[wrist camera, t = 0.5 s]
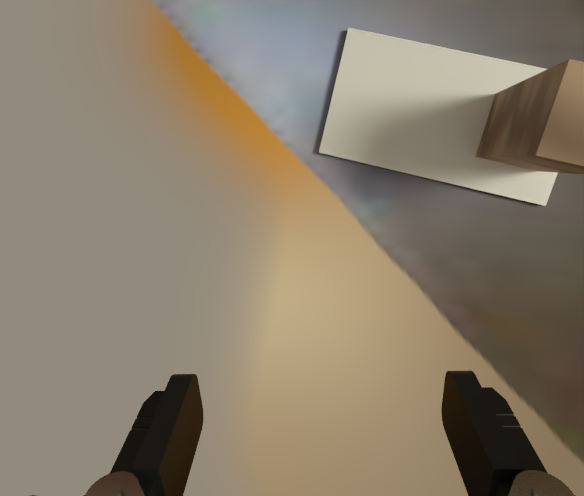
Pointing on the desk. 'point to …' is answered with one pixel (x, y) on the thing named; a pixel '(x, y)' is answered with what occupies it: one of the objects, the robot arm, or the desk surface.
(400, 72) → the cream board
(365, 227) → the desk surface
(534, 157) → the teal and brown block
